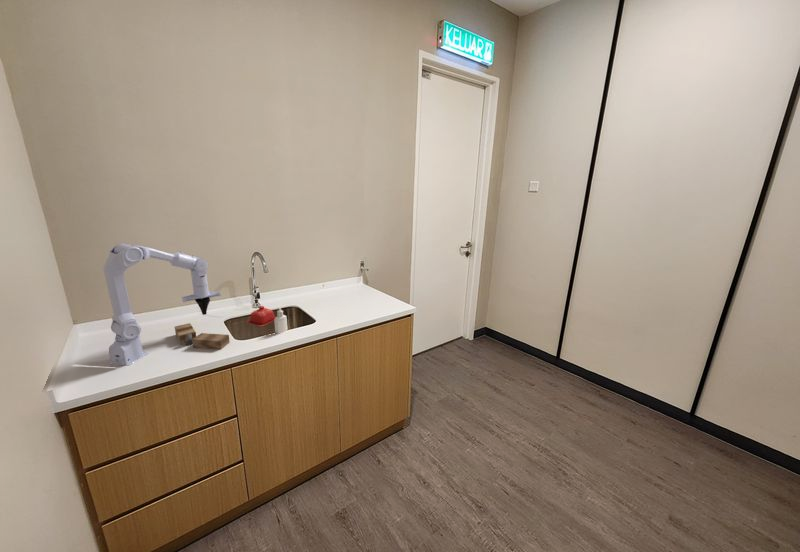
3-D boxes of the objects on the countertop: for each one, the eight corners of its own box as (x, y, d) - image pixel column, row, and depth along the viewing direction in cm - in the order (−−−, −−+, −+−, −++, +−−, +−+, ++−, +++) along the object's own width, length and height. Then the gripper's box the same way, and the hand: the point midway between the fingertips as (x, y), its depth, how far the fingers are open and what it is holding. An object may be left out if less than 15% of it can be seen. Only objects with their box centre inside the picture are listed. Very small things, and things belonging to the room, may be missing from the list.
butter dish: (244, 323, 163) (243, 307, 160) (264, 316, 173) (263, 300, 170) (261, 329, 158) (259, 312, 155) (280, 320, 167) (279, 304, 165)
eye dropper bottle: (288, 333, 153) (287, 308, 150) (276, 335, 150) (274, 310, 147) (286, 329, 157) (285, 305, 154) (274, 332, 154) (272, 307, 151)
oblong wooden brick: (229, 343, 142) (228, 334, 141) (221, 350, 136) (220, 341, 135) (202, 341, 143) (201, 333, 142) (193, 348, 137) (192, 339, 136)
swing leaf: (198, 343, 141) (196, 333, 140) (181, 347, 137) (180, 337, 136) (191, 331, 152) (190, 322, 151) (175, 334, 148) (174, 325, 147)
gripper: (216, 280, 154) (219, 307, 157) (179, 285, 145) (183, 314, 148) (220, 283, 149) (223, 312, 152) (182, 289, 139) (186, 319, 143)
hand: (204, 313), depth 150 cm, fingers closed
